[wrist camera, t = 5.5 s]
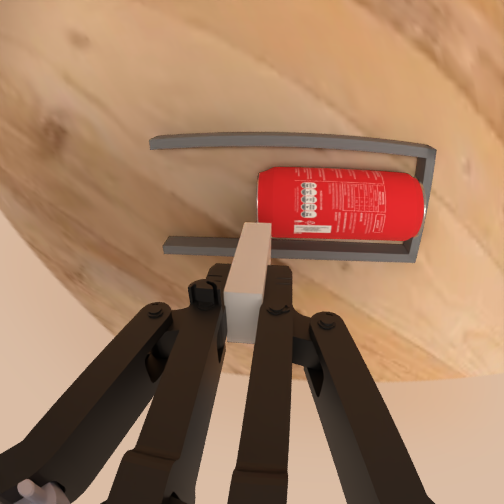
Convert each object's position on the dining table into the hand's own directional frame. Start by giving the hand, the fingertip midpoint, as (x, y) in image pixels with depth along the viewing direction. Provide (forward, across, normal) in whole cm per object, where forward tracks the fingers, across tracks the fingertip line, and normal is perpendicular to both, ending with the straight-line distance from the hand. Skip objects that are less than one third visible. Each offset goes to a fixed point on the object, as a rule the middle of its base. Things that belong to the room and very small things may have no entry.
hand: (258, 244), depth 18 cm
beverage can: (+6, -1, 0) cm, 6 cm away
